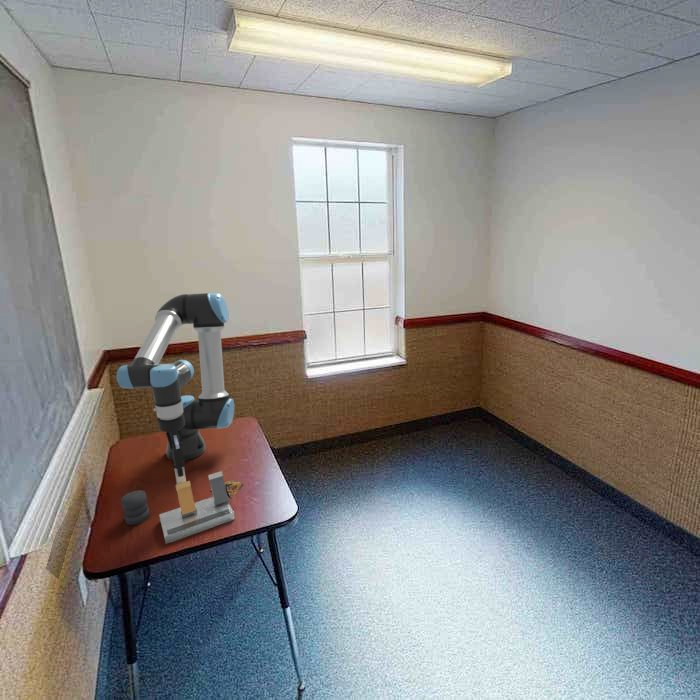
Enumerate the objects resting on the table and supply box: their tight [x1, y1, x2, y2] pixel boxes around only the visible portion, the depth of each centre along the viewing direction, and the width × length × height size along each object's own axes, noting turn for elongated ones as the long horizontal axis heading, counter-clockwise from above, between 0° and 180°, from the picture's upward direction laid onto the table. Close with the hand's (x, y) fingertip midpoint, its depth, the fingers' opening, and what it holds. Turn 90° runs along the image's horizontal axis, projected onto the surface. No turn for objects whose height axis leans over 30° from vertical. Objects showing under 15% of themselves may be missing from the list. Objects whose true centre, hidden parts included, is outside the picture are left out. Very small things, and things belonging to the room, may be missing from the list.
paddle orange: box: [175, 480, 197, 517], centre depth 130 cm, size 2×4×10 cm
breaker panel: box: [158, 496, 235, 545], centre depth 130 cm, size 12×20×3 cm, turn 120°
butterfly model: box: [208, 479, 245, 499], centre depth 147 cm, size 9×12×3 cm
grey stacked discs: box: [120, 490, 151, 526], centre depth 132 cm, size 7×7×8 cm
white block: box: [207, 470, 230, 506], centre depth 135 cm, size 2×4×10 cm
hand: (181, 483), depth 134 cm, fingers closed
